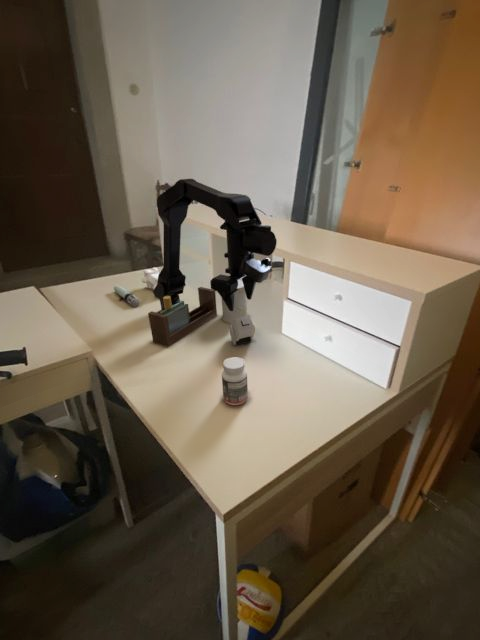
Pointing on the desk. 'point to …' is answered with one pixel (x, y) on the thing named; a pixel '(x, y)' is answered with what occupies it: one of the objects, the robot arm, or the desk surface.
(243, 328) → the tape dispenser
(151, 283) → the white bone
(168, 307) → the sash
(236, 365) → the pill bottle
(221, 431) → the desk surface
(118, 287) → the flashlight
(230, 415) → the desk surface
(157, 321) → the brown book rack
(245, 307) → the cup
